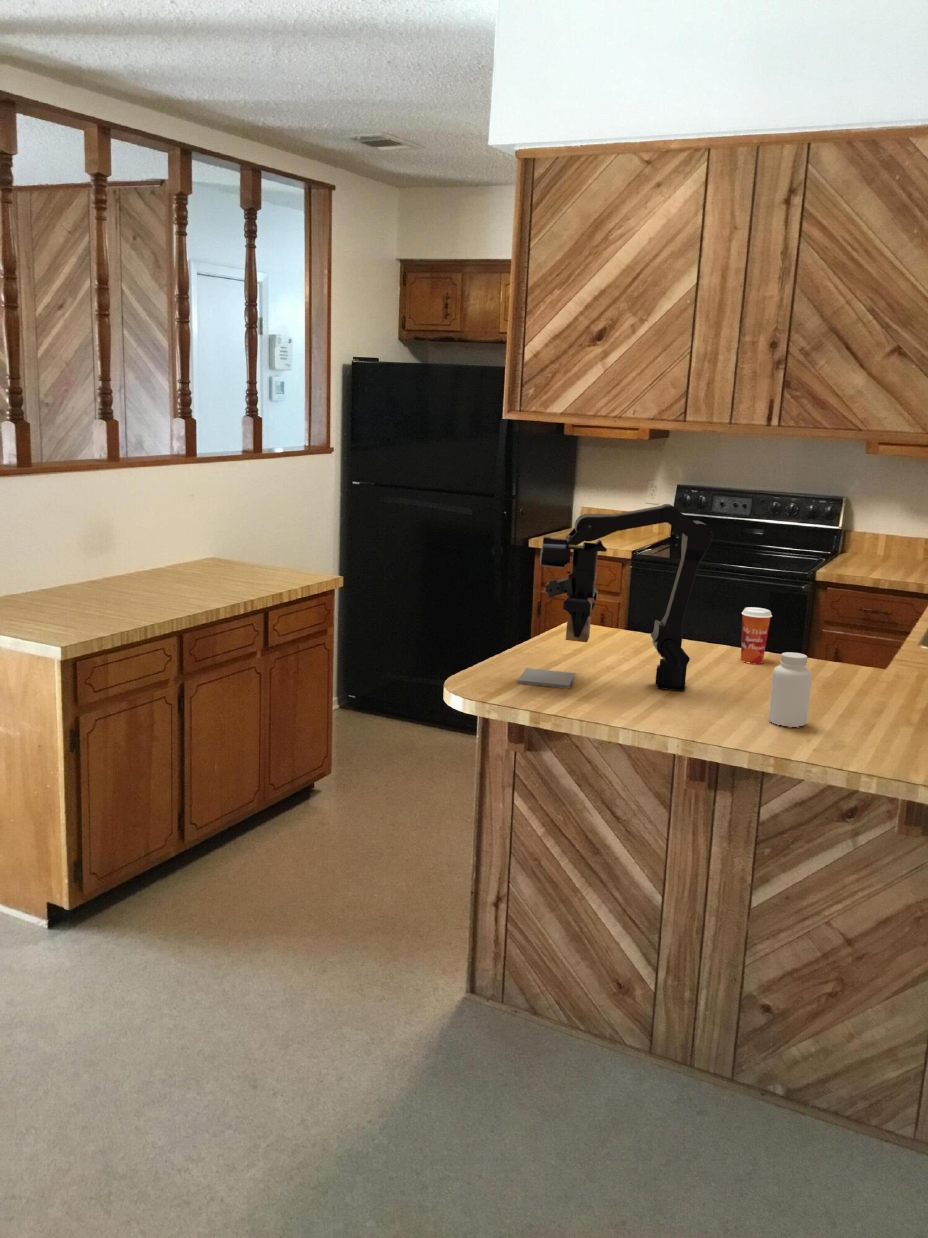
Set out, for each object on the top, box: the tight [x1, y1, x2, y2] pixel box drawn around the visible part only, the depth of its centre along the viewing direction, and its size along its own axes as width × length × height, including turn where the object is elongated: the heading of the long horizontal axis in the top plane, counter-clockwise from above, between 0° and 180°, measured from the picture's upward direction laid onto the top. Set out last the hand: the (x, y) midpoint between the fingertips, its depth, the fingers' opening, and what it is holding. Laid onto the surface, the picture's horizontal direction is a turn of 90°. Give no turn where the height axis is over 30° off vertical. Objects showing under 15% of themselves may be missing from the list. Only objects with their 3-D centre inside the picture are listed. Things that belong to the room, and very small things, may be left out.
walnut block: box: [565, 614, 592, 643], centre depth 252 cm, size 5×5×5 cm
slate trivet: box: [517, 667, 576, 690], centre depth 255 cm, size 12×12×1 cm
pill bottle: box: [768, 651, 813, 728], centre depth 228 cm, size 8×8×15 cm
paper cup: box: [740, 606, 773, 663], centre depth 282 cm, size 8×8×14 cm
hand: (577, 634), depth 252 cm, fingers closed on walnut block, 5 cm apart
